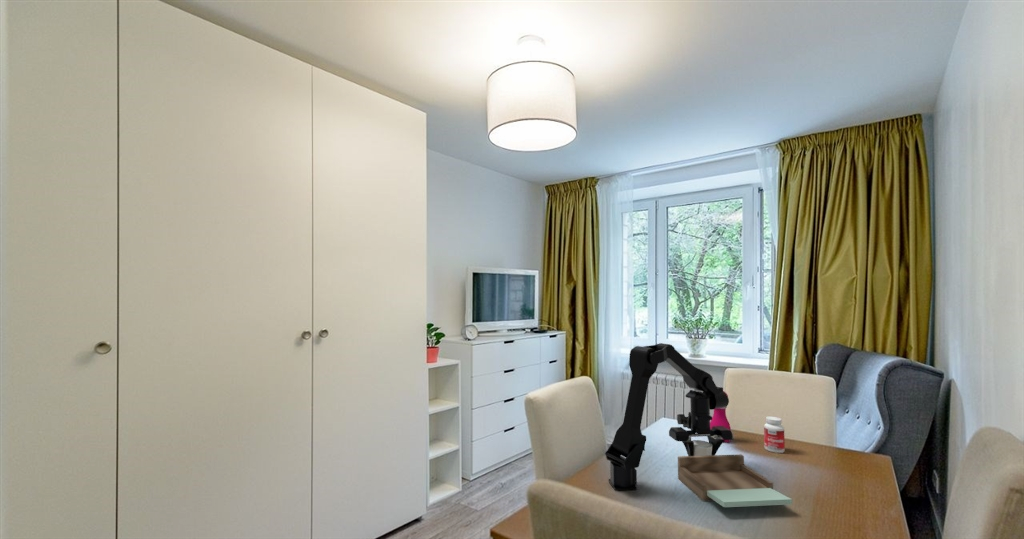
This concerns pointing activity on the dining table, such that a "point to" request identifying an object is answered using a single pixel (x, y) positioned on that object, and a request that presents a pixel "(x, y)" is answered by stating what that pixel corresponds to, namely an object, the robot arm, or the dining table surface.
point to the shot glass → (702, 448)
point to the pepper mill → (720, 418)
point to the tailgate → (748, 497)
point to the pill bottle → (774, 435)
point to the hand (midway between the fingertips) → (701, 460)
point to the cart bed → (718, 474)
